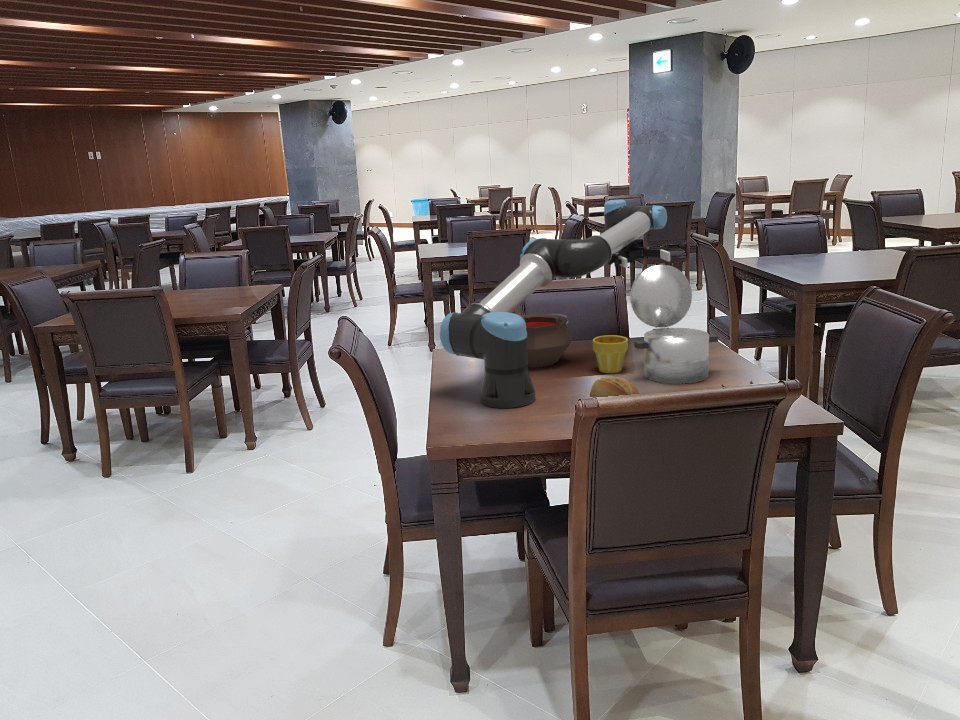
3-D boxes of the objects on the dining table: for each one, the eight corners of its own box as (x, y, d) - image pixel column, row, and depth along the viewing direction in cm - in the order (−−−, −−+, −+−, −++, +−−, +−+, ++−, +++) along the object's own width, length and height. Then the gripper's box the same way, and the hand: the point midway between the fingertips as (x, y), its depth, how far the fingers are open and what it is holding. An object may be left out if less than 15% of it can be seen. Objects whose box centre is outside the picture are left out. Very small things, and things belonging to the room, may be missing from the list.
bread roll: (625, 419, 179) (625, 387, 177) (580, 406, 190) (579, 376, 188) (649, 409, 184) (650, 379, 182) (604, 397, 196) (604, 368, 194)
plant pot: (627, 375, 214) (627, 343, 212) (592, 375, 216) (591, 343, 214) (628, 365, 224) (628, 334, 221) (594, 365, 226) (593, 335, 223)
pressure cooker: (647, 387, 201) (647, 345, 198) (622, 368, 221) (622, 330, 218) (729, 379, 204) (730, 337, 201) (697, 361, 224) (698, 323, 221)
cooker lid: (630, 267, 214) (625, 267, 218) (634, 330, 216) (629, 329, 219) (690, 262, 217) (685, 263, 220) (693, 324, 218) (688, 324, 222)
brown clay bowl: (483, 363, 236) (480, 314, 232) (535, 348, 251) (533, 302, 247) (536, 376, 218) (534, 323, 214) (588, 359, 234) (587, 309, 229)
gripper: (661, 255, 247) (687, 266, 227) (590, 266, 245) (609, 278, 225) (660, 233, 245) (686, 242, 225) (588, 244, 243) (607, 253, 223)
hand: (647, 260), depth 225 cm, fingers open, 13 cm apart
